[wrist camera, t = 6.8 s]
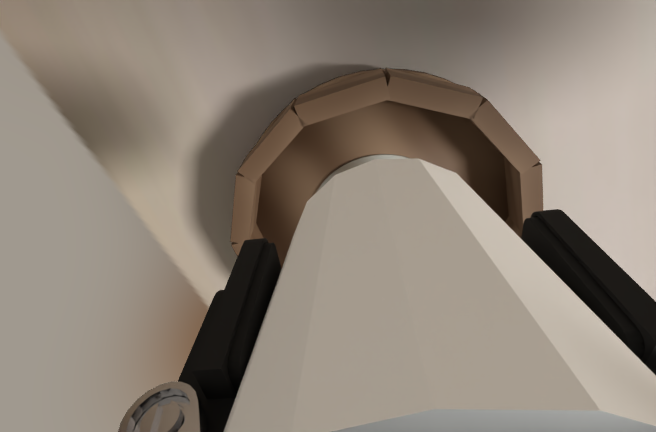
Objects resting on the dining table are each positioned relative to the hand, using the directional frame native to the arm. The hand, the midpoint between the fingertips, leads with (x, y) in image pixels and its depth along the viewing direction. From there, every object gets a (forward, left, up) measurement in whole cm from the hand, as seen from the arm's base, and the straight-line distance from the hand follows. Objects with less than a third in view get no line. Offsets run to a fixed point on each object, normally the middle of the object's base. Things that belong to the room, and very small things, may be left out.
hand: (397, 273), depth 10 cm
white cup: (0, 0, -1) cm, 1 cm away
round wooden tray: (+5, +6, -16) cm, 17 cm away
